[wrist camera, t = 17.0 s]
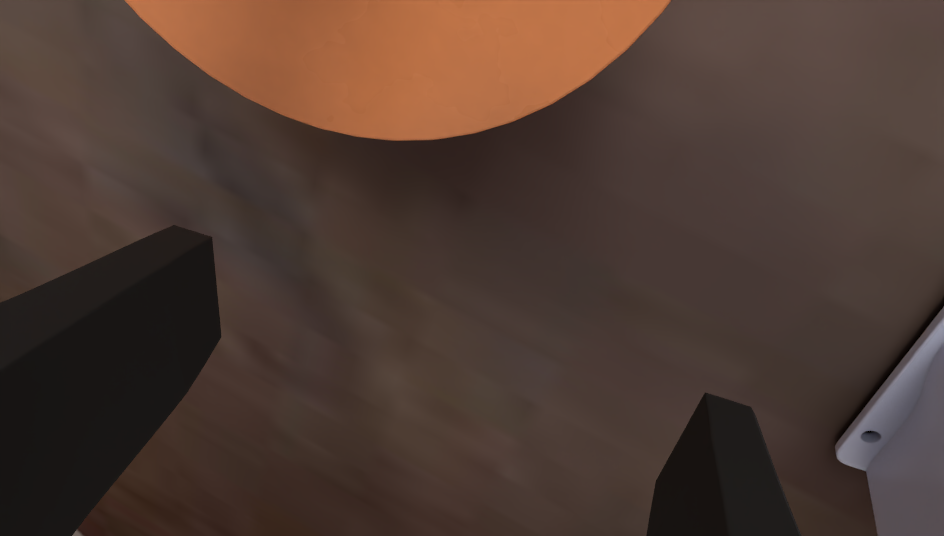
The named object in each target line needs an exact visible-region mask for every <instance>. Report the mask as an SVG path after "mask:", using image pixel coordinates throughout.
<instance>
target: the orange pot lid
mask: <svg viewBox="0 0 944 536" xmlns="http://www.w3.org/2000/svg"><path fill="white" fill-rule="evenodd" d="M125 1H126V2H127V3H128V5H129V6H130V7H131V8H132V9H133V10H134V11H135V12H136V13H137V14H138V15H139V17H140V18H141V19H142V20H144V21H145V22H146V23H147V24H148V25H149V26H150V27H151V28H152V29H153V30H154V31H156V32H157V33H158V34H159V35H160V36H161V37H162V38H163V39H164V40H165V41H166V42H168V43H169V44H170V45H171V46H172V47H173V48H174V49H175V50H177V51H178V52H179V53H181V54H182V55H183V56H185V57H186V58H187V59H188V60H190V61H191V62H192V63H194V64H195V65H196V66H198V67H199V68H200V69H202V70H203V71H204V72H206V73H207V74H208V75H210V76H211V77H213V78H214V79H216V80H218V81H219V82H221V83H223V84H224V85H226V86H227V87H229V88H231V89H232V90H234V91H236V92H237V93H239V94H240V95H242V96H244V97H245V98H247V99H249V100H252V101H254V102H256V103H258V104H260V105H262V106H264V107H266V108H268V109H270V110H272V111H274V112H276V113H278V114H281V115H283V116H286V117H289V118H291V119H294V120H297V121H300V122H303V123H306V124H308V125H311V126H314V127H317V128H320V129H325V130H329V131H333V132H338V133H342V134H346V135H351V136H355V137H363V138H373V139H382V140H392V141H409V140H436V139H443V138H449V137H455V136H462V135H468V134H474V133H478V132H481V131H484V130H488V129H491V128H494V127H498V126H501V125H504V124H508V123H511V122H514V121H516V120H518V119H521V118H523V117H525V116H527V115H529V114H532V113H534V112H536V111H538V110H540V109H543V108H545V107H547V106H549V105H551V104H553V103H555V102H556V101H558V100H560V99H561V98H563V97H564V96H566V95H568V94H569V93H571V92H572V91H574V90H576V89H577V88H579V87H580V86H582V85H584V84H585V83H587V82H588V81H590V80H591V79H592V78H594V77H595V76H596V75H597V74H598V73H600V72H601V71H602V70H603V69H604V68H606V67H607V66H608V65H609V64H611V63H612V62H613V61H614V60H615V59H617V58H618V57H619V56H620V55H621V54H623V53H624V52H625V51H626V50H627V49H628V48H629V47H630V46H631V45H632V44H633V43H634V42H635V41H636V40H637V39H638V38H639V37H640V36H641V35H642V34H643V32H644V31H645V30H646V29H647V28H648V27H649V26H650V25H651V24H652V23H653V22H654V21H655V20H656V19H657V18H658V16H659V15H660V14H661V13H662V12H663V11H664V10H665V8H666V7H667V6H668V4H669V3H670V1H671V0H125Z"/></svg>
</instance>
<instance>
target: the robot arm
mask: <svg viewBox="0 0 944 536" xmlns="http://www.w3.org/2000/svg"><path fill="white" fill-rule="evenodd" d="M220 338H221V328H220V317H219V307H218V296H217V285H216V275H215V264H214V253H213V243H212V237H210V236H207V235H204V234H200V233H197V232H194V231H191V230H188V229H185V228H181V227H178V226H175V225H173V226H171V227H169V228H166V229H164V230H161V231H159V232H157V233H154V234H152V235H150V236H148V237H145V238H143V239H141V240H139V241H136V242H134V243H132V244H130V245H128V246H126V247H123V248H121V249H119V250H117V251H115V252H113V253H111V254H108V255H106V256H104V257H102V258H100V259H98V260H95V261H93V262H91V263H89V264H87V265H85V266H83V267H80V268H78V269H76V270H74V271H71V272H69V273H67V274H65V275H63V276H60V277H58V278H56V279H54V280H52V281H49V282H47V283H45V284H43V285H41V286H38V287H36V288H34V289H32V290H29V291H27V292H25V293H23V294H20V295H18V296H16V297H13V298H11V299H9V300H6V301H4V302H1V303H0V536H72V535H73V534H74V532H75V531H76V530H77V528H78V527H79V526H80V524H81V523H82V522H83V520H84V519H85V518H86V516H87V515H88V514H89V513H90V512H91V510H92V509H93V508H94V507H95V505H96V504H97V503H98V502H99V501H100V499H101V498H102V497H103V496H104V494H105V493H106V492H107V491H108V490H109V488H110V487H111V486H112V485H113V483H114V482H115V481H116V480H117V479H118V477H119V476H120V475H121V474H122V472H123V471H124V470H125V469H126V468H127V466H128V465H129V464H130V463H131V461H132V460H133V459H134V458H135V457H136V455H137V454H138V453H139V452H140V451H141V449H142V448H143V447H144V446H145V444H146V443H147V442H148V441H149V440H150V438H151V437H152V436H153V435H154V433H155V432H156V431H157V430H158V428H159V427H160V426H161V425H162V423H163V422H164V421H165V420H166V418H167V417H168V416H169V415H170V414H171V412H172V411H173V410H174V409H175V407H176V406H177V405H178V403H179V402H180V401H181V400H182V398H183V397H184V396H185V395H186V393H187V392H188V390H189V389H190V387H191V385H192V384H193V382H194V381H195V379H196V378H197V376H198V375H199V373H200V371H201V370H202V368H203V367H204V365H205V363H206V362H207V360H208V358H209V357H210V355H211V353H212V351H213V350H214V348H215V346H216V345H217V343H218V341H219V340H220ZM866 431H875V432H872V433H866ZM835 450H836V456H837V459H838V460H839V461H840V462H841V463H843V464H846V465H848V466H851V467H854V468H858V469H861V470H864V471H866V473H867V479H868V484H869V490H870V496H871V501H872V507H873V512H874V518H875V523H876V529H877V535H878V536H944V307H943V308H942V309H941V311H940V312H939V313H938V314H937V316H936V317H935V318H934V320H933V321H932V322H931V323H930V325H929V326H928V327H927V328H926V330H925V331H924V332H923V334H922V335H921V336H920V337H919V339H918V340H917V341H916V342H915V344H914V345H913V346H912V348H911V349H910V350H909V351H908V353H907V354H906V355H905V356H904V358H903V359H902V360H901V362H900V363H899V364H898V365H897V367H896V368H895V369H894V370H893V372H892V373H891V374H890V376H889V377H888V378H887V379H886V381H885V382H884V383H883V384H882V386H881V387H880V388H879V390H878V391H877V392H876V393H875V395H874V396H873V397H872V398H871V400H870V401H869V402H868V404H867V405H866V406H865V407H864V409H863V410H862V411H861V412H860V414H859V415H858V416H857V418H856V419H855V420H854V421H853V423H852V424H851V425H850V426H849V428H848V429H847V430H846V431H845V433H844V434H843V435H842V437H841V438H840V439H839V440H838V442H837V443H836V446H835ZM647 536H801V534H800V531H799V529H798V527H797V524H796V522H795V519H794V517H793V514H792V512H791V509H790V507H789V504H788V502H787V499H786V497H785V494H784V491H783V489H782V486H781V484H780V481H779V479H778V476H777V473H776V471H775V468H774V465H773V463H772V460H771V457H770V455H769V452H768V449H767V446H766V444H765V441H764V438H763V435H762V432H761V430H760V427H759V424H758V421H757V418H756V416H755V414H754V412H753V410H752V408H751V407H749V406H746V405H743V404H740V403H737V402H733V401H730V400H727V399H724V398H721V397H718V396H714V395H711V394H708V393H705V394H704V395H703V397H702V399H701V401H700V403H699V404H698V406H697V408H696V410H695V412H694V413H693V415H692V417H691V419H690V421H689V422H688V424H687V426H686V428H685V430H684V431H683V433H682V435H681V437H680V439H679V440H678V442H677V444H676V446H675V448H674V449H673V451H672V453H671V455H670V457H669V458H668V460H667V462H666V464H665V466H664V467H663V469H662V471H661V473H660V475H659V477H658V478H657V480H656V484H655V489H654V495H653V501H652V506H651V512H650V518H649V524H648V530H647Z"/></svg>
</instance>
